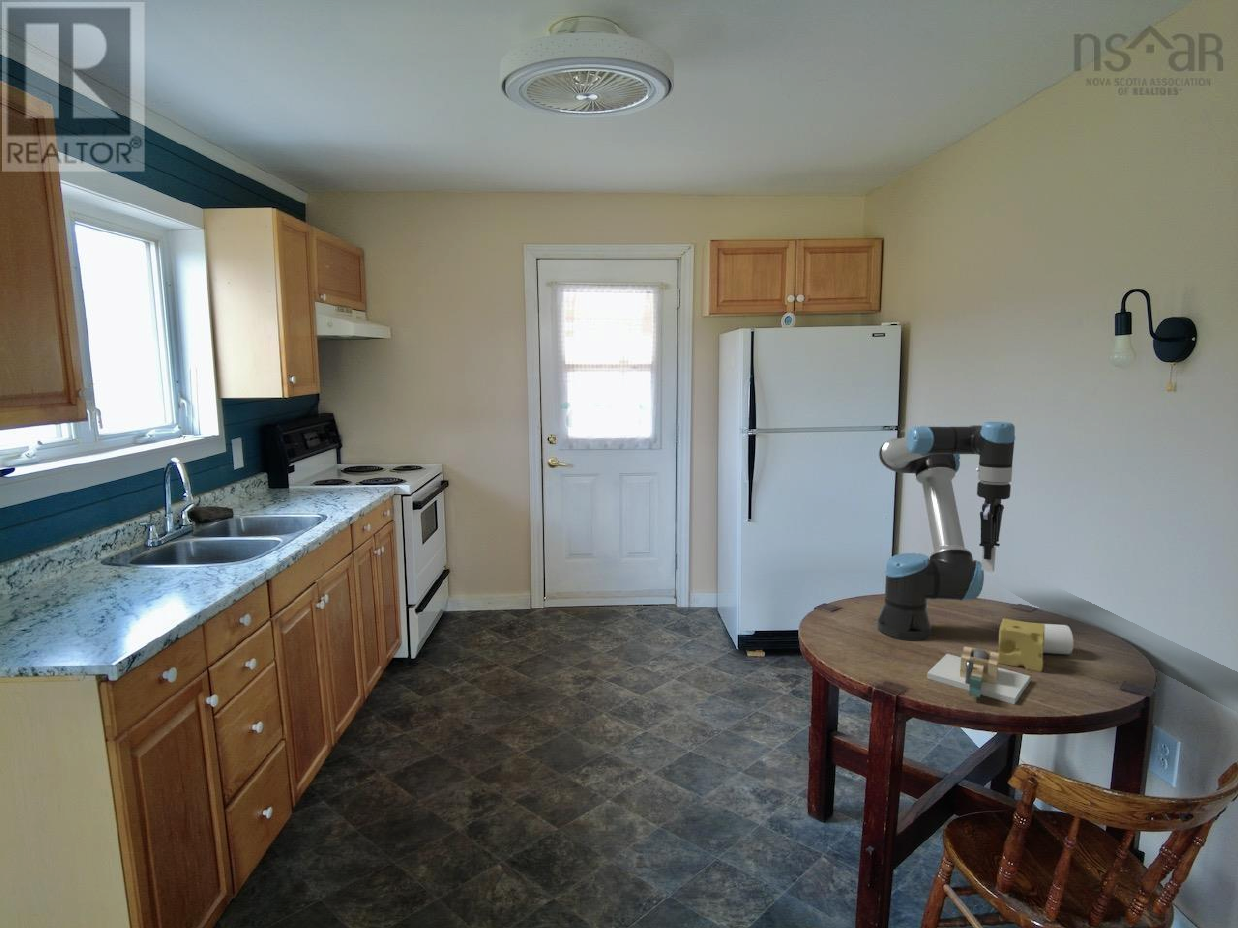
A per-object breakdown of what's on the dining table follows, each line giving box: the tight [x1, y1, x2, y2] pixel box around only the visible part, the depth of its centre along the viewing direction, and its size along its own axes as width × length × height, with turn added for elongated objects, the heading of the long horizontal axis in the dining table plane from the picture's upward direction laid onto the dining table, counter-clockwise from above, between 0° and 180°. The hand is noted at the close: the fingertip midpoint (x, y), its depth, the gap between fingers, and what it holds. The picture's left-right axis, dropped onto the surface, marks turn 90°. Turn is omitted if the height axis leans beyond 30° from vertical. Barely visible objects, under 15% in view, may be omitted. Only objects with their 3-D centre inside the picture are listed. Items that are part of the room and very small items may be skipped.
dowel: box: [965, 661, 973, 684], centre depth 167 cm, size 1×1×6 cm
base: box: [926, 648, 1031, 705], centre depth 171 cm, size 20×16×8 cm
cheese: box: [998, 617, 1045, 673], centre depth 182 cm, size 10×11×10 cm
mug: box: [1040, 623, 1074, 656], centre depth 189 cm, size 12×10×8 cm
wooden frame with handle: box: [960, 646, 999, 698], centre depth 167 cm, size 18×8×5 cm, turn 148°
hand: (987, 570), depth 176 cm, fingers closed
